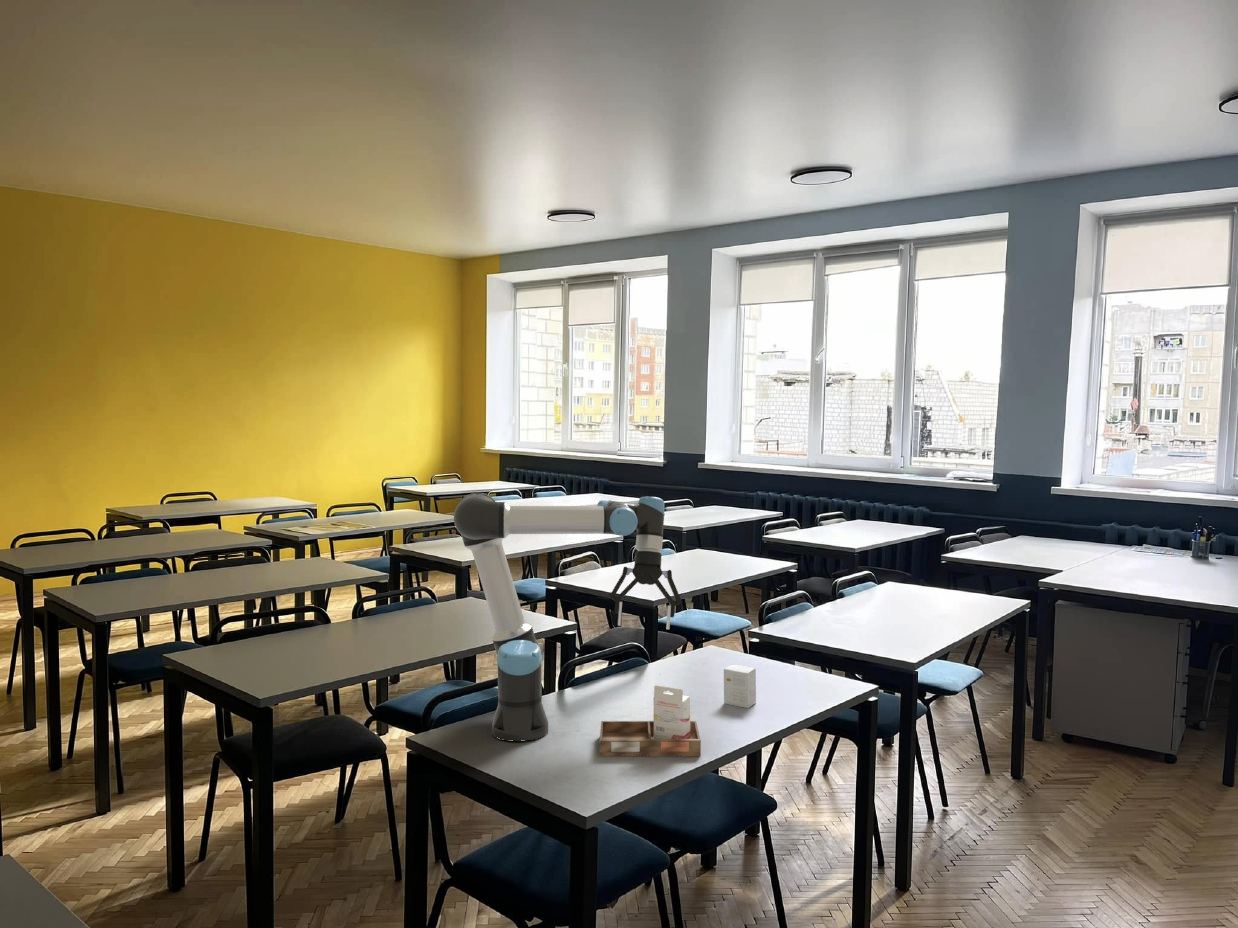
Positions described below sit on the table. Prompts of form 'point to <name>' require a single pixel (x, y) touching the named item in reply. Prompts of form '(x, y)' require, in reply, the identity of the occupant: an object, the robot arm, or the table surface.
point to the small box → (739, 686)
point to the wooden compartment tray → (644, 740)
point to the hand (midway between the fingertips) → (643, 627)
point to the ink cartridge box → (671, 714)
